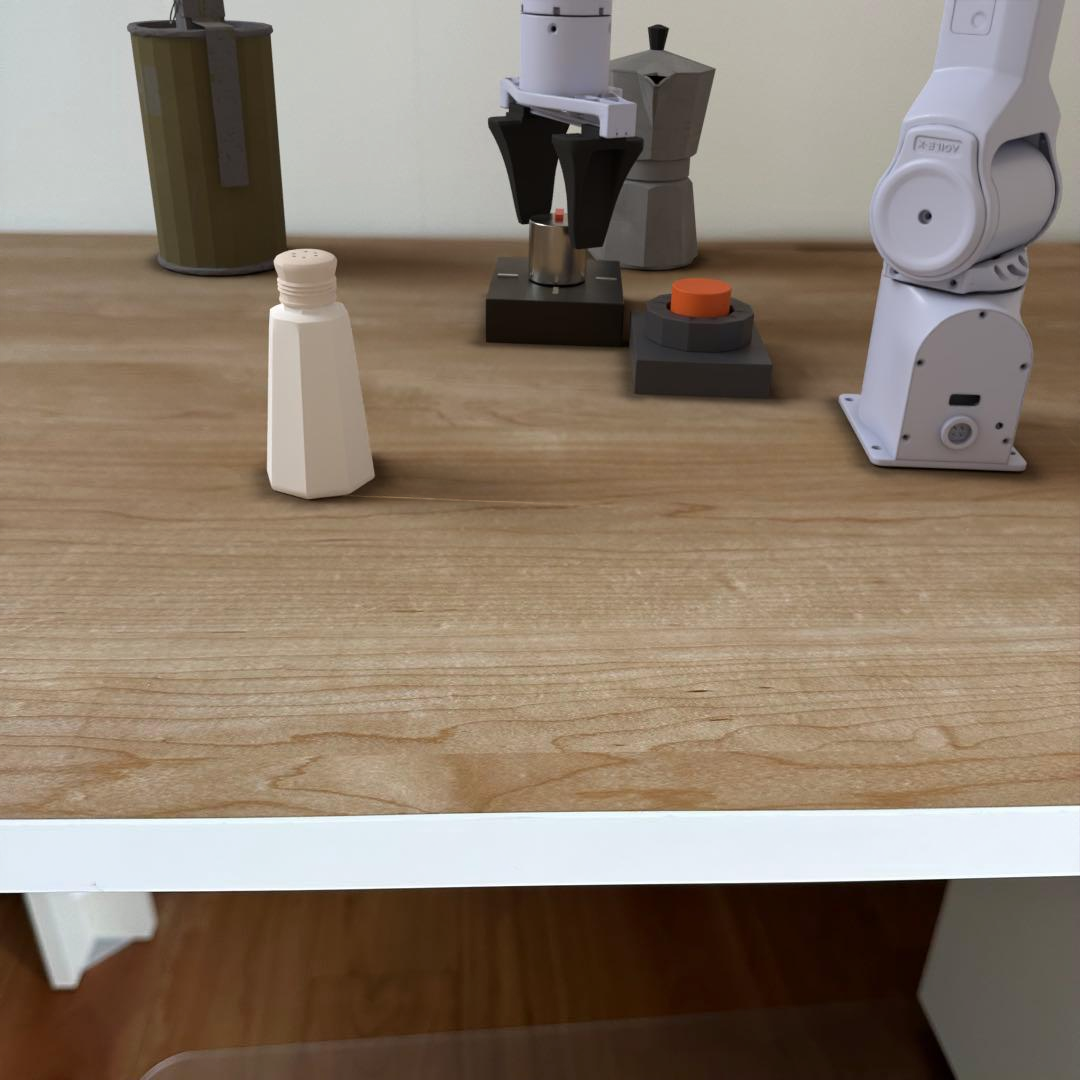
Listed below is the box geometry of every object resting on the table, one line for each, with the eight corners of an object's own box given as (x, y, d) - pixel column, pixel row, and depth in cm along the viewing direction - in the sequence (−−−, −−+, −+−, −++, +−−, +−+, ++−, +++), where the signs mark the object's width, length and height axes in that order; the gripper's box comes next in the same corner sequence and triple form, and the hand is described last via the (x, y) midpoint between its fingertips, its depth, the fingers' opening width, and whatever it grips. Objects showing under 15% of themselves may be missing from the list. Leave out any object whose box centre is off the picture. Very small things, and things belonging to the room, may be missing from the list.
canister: (146, 250, 94) (109, -19, 84) (270, 239, 98) (247, -18, 89) (175, 283, 86) (138, -12, 76) (309, 269, 90) (289, -11, 81)
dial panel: (621, 348, 75) (624, 301, 74) (485, 343, 75) (485, 296, 74) (617, 300, 85) (620, 258, 83) (497, 296, 85) (497, 254, 83)
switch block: (768, 400, 67) (777, 334, 65) (633, 394, 68) (638, 329, 66) (747, 345, 76) (754, 287, 74) (628, 341, 76) (632, 282, 74)
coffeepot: (702, 279, 90) (725, 33, 82) (584, 274, 91) (595, 28, 82) (693, 234, 104) (712, 19, 96) (590, 230, 104) (601, 15, 96)
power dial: (585, 286, 77) (588, 222, 75) (526, 284, 77) (528, 220, 75) (585, 271, 80) (588, 209, 78) (529, 269, 80) (530, 207, 78)
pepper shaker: (338, 445, 60) (325, 234, 55) (397, 480, 56) (389, 258, 51) (245, 471, 57) (221, 250, 51) (300, 510, 53) (281, 277, 48)
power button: (731, 323, 69) (735, 294, 68) (672, 321, 69) (674, 292, 68) (725, 305, 72) (728, 278, 71) (668, 303, 72) (670, 276, 71)
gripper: (685, 21, 67) (667, 253, 73) (565, 6, 78) (559, 208, 84) (581, 22, 64) (572, 263, 70) (472, 7, 75) (473, 216, 81)
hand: (559, 234), depth 77 cm, fingers open, 7 cm apart
